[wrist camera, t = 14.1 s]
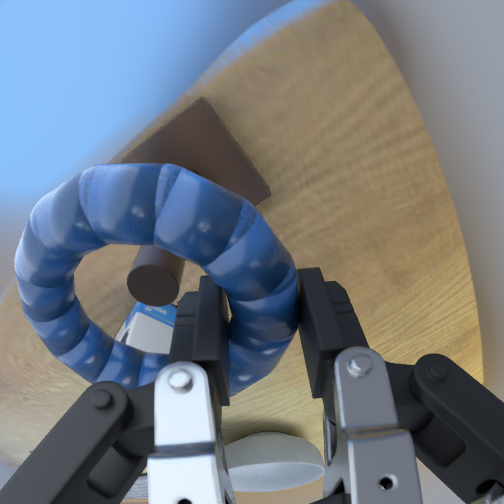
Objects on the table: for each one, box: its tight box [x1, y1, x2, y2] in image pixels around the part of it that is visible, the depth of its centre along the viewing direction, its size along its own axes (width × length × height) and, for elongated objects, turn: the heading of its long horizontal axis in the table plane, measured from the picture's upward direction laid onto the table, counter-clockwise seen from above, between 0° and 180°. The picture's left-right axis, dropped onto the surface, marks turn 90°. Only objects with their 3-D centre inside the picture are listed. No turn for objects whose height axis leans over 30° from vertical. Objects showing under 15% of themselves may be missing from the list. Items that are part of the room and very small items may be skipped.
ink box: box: [114, 301, 177, 354], centre depth 25 cm, size 8×5×12 cm, turn 143°
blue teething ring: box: [15, 163, 300, 397], centre depth 10 cm, size 10×10×2 cm
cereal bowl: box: [225, 432, 325, 492], centre depth 41 cm, size 17×17×7 cm
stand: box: [119, 97, 271, 307], centre depth 17 cm, size 8×8×12 cm
